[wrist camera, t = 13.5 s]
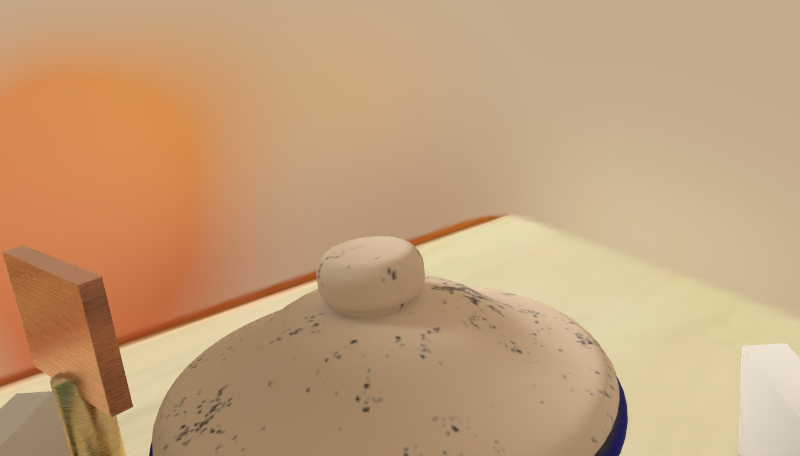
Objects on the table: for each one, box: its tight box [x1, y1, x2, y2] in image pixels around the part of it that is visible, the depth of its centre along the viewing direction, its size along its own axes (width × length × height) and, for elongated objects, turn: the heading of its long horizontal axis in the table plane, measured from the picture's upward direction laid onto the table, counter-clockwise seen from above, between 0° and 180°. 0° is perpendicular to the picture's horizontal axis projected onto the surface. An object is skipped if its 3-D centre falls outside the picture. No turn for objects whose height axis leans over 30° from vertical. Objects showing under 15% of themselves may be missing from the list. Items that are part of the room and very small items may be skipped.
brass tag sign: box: [2, 246, 133, 456], centre depth 21 cm, size 5×5×11 cm
